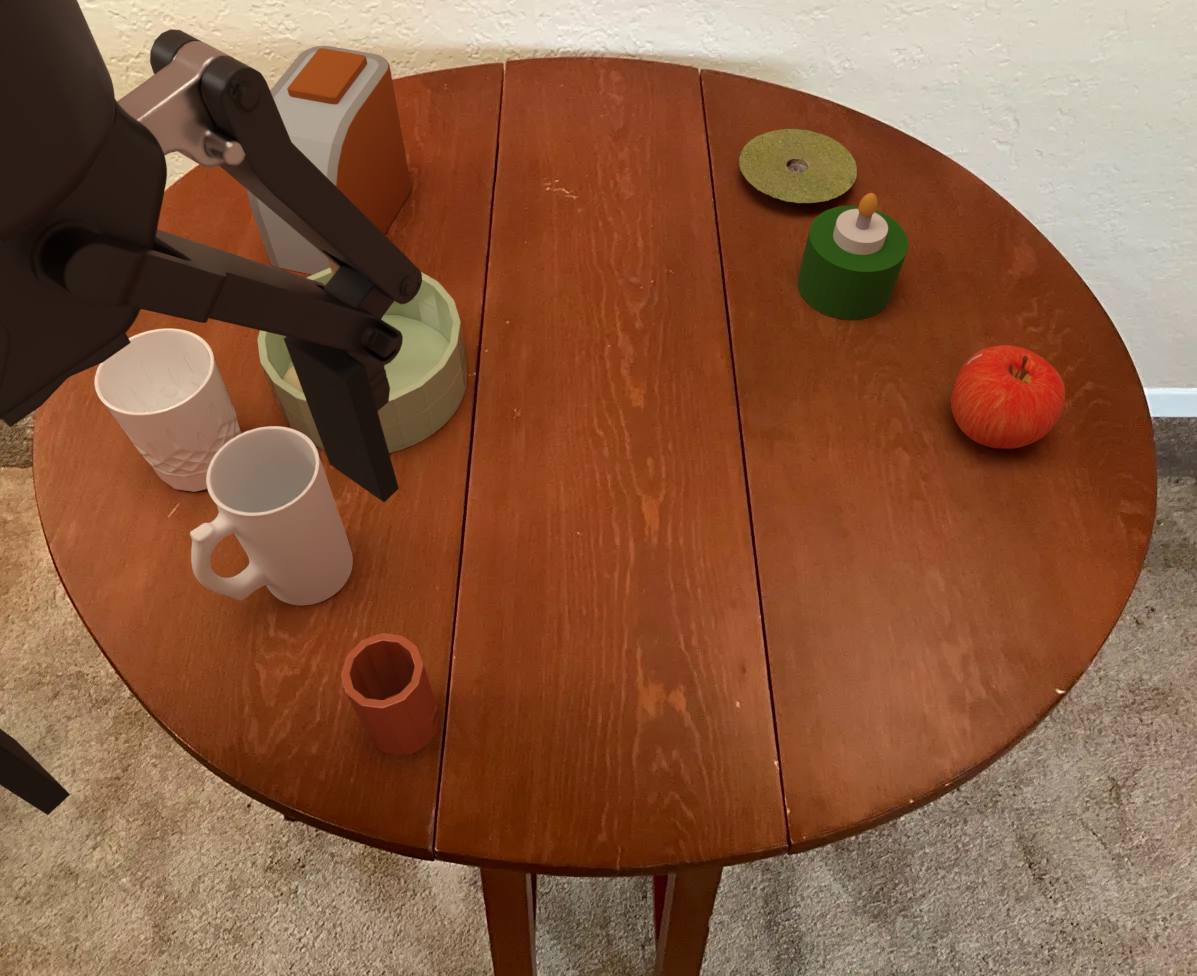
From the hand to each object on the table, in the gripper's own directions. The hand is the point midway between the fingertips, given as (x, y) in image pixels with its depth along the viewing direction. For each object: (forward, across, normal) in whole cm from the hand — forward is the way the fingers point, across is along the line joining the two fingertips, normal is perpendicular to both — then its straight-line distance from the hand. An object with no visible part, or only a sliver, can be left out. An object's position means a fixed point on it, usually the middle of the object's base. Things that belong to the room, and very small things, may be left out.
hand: (214, 612), depth 31 cm
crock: (+32, +7, +5) cm, 33 cm away
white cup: (+32, +13, +32) cm, 47 cm away
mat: (+32, +70, +13) cm, 78 cm away
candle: (+32, +60, +2) cm, 68 cm away
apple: (+32, +53, -15) cm, 64 cm away
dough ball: (+30, +22, +30) cm, 47 cm away
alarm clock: (+32, +39, +43) cm, 66 cm away
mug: (+32, +10, +18) cm, 38 cm away
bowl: (+32, +26, +27) cm, 49 cm away
